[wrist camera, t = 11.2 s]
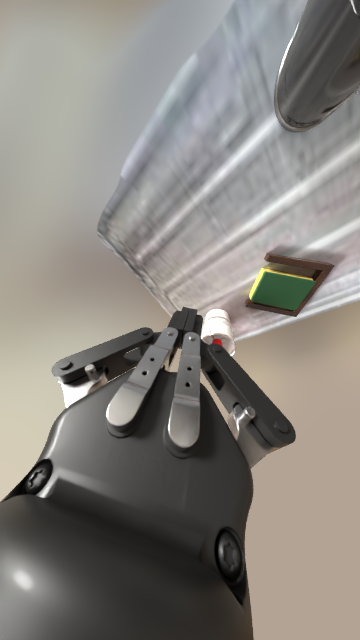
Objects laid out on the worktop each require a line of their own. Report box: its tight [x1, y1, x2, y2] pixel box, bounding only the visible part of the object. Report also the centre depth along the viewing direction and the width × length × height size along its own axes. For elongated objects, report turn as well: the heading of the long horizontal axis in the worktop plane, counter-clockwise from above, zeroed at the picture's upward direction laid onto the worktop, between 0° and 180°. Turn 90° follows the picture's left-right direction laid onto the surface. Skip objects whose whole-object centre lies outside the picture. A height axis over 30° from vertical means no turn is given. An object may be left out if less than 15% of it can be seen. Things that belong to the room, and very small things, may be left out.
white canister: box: [201, 309, 236, 356], centre depth 38 cm, size 10×8×12 cm
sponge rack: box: [245, 253, 334, 317], centre depth 33 cm, size 12×12×2 cm
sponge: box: [249, 268, 316, 311], centre depth 32 cm, size 7×10×3 cm
